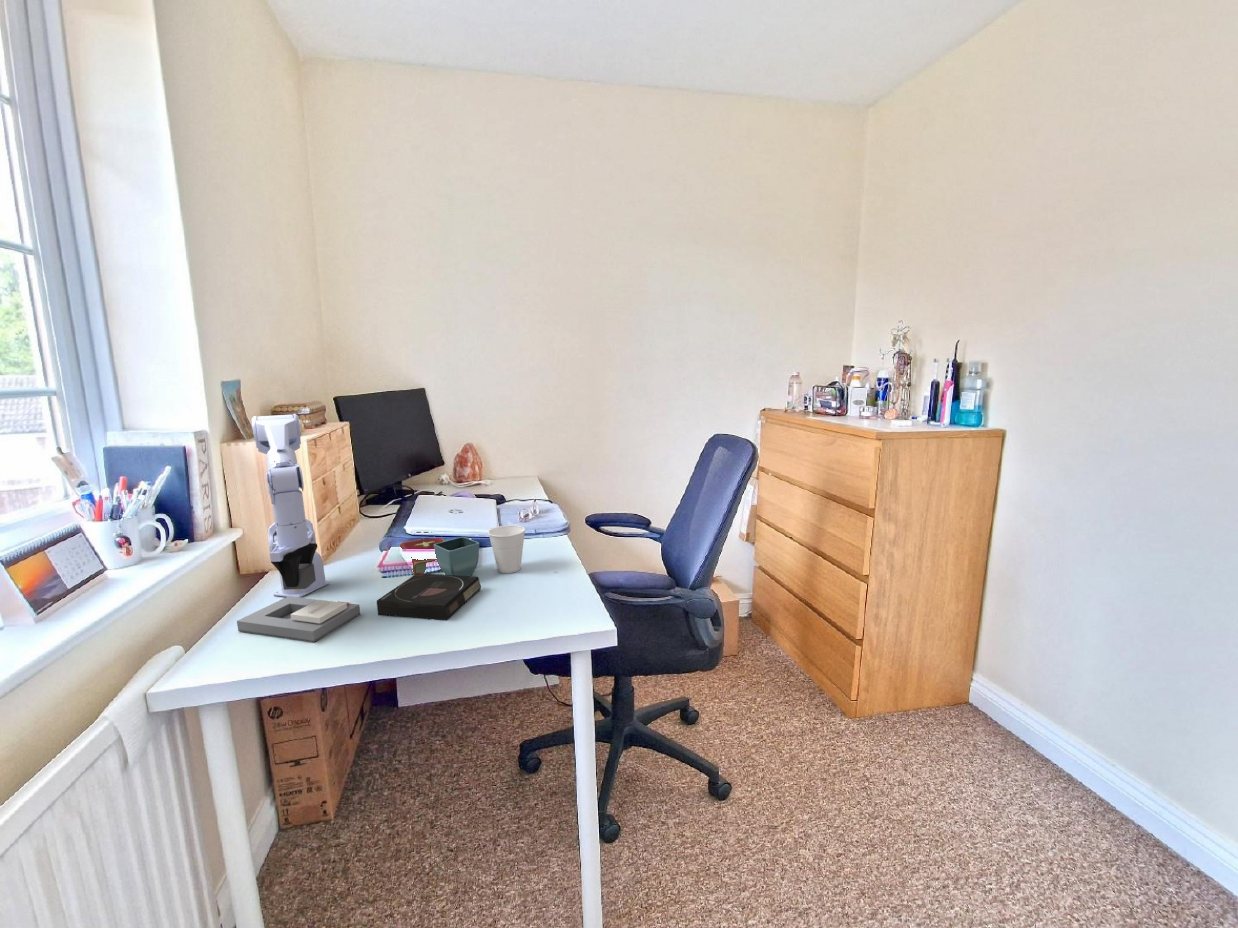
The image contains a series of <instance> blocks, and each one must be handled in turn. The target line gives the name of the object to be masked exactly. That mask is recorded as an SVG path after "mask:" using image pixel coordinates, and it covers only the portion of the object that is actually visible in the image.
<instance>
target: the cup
mask: <svg viewBox="0 0 1238 928" xmlns="http://www.w3.org/2000/svg"><path fill="white" fill-rule="evenodd" d="M526 530H527V529H526V527H525V526H522V525H517V524H516V525H515V524H510V525H509V524H508V525H507V524H506V525H499V526H495V527H493V528H490V529H489V530H487V534H488V537H489V541H490V545H491V549H492V552H493V556H494V560H495V565H496V569H497V571H498V572H499V573H501V574H513V572H514V573H516V572H518V571H520V569H521V568H522V559H523V558H522V557H523V548H524V542H525V541H524V540H525V534H526V533H525V532H526Z"/></svg>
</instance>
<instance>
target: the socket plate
mask: <svg viewBox="0 0 1238 928" xmlns="http://www.w3.org/2000/svg"><path fill="white" fill-rule="evenodd" d="M317 600H318V599H316V598H308V597H292V596H288V597H284V598H282V599H279V600H278V601H276V602H273V603H271V604H270V605H268V606H265V607H263V608H261V609H259V610H257V611H254V612H253V613H250V614H248V615H246V616H244V617H242V618H240V619H238V620H236V625H237V631H240V632H239V633H246V634H253V635H259V634H260V636H266V637H274V638H281V639H286V638H287V639H288V640H295V641H302V642H308V643H316V642H317V641H319V640H321V639H323V638H324V637H326V636H328V635H329V634H330V633H332V632H334V631H336V630H338V629H339V628H341V627H343V626H344V625H346V624H348V623H349V622H351V621H352V620H354V619H355V618H357V617H359V616H361V614H362V613H361V606H360V604H359V603H350V602H347V601H342V602H343V603H347V608H346V609H345V610H343V611H341V612H339V613H338V614H336V615H334V616H332V617H331V618H329V619H327V620H325V621H324V622H322V623H312V622H305V621H297V620H291V614H292V613H294V612H296V611H298V610H300V609H302V608H304V607H306V606H308V605H310V604H311V603H313V602H315V601H317ZM337 602H341V601H339V600H338V601H337Z"/></svg>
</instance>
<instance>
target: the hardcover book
mask: <svg viewBox="0 0 1238 928" xmlns="http://www.w3.org/2000/svg"><path fill="white" fill-rule="evenodd" d="M421 539H422V540H421ZM444 541H446V540H445V539H444V538H443V537H442V538H436V539H424V538H419V539H414V540H408V541H402V542H400V543H399V544H398V547H399V546H400V547H401V548H402V549H434V544H436V543H440V542H444ZM411 558H412V557H411ZM435 560H437V559H427V560H426V559H424V560H418V559H417V560H416V559H412V563H413V572H414V573H413V572H412V573H413V576H414V575H415V574H417V573H424V572H425V570H426V563H427V562H432V561H435Z"/></svg>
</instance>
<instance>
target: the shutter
mask: <svg viewBox="0 0 1238 928" xmlns="http://www.w3.org/2000/svg"><path fill="white" fill-rule="evenodd" d="M343 602H344V601H340V602H338V601H333V600H323V599H317V601H315V602H313V603H311V604H310V605H308V606H306V607H304V608H302V609H300V610H298V611H296V612H294V613H292V614H291V620H297V621H305V622H312V623H322V622H324V621H325V620H327V619H329V618H331V617H332V616H334V615H336V614H338V613H339V612H341V611H343V610H345V609H346V608H347V603H343Z"/></svg>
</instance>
